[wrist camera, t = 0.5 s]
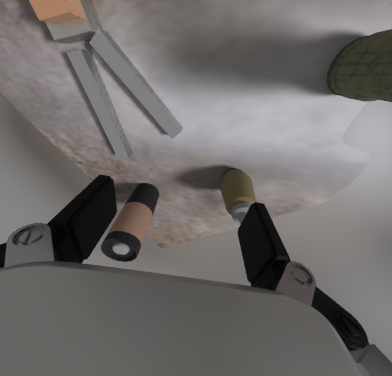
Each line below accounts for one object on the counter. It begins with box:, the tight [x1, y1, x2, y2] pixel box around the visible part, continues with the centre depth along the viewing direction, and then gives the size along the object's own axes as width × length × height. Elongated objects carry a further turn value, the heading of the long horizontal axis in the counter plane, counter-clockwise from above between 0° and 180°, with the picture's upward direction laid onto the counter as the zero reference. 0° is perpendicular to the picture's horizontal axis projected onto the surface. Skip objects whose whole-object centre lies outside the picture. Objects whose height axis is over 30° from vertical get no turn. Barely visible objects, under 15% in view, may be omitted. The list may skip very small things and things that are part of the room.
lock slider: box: [29, 0, 80, 24], centre depth 23 cm, size 4×5×2 cm
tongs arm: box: [89, 28, 183, 139], centre depth 32 cm, size 20×3×3 cm, turn 38°
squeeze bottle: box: [220, 169, 256, 224], centre depth 37 cm, size 8×8×18 cm
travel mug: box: [101, 183, 159, 262], centre depth 41 cm, size 8×8×20 cm
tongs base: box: [45, 0, 133, 159], centre depth 32 cm, size 27×7×4 cm, turn 9°
